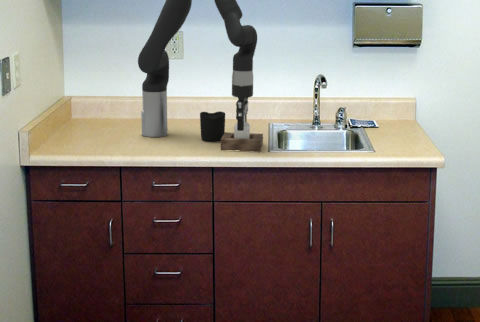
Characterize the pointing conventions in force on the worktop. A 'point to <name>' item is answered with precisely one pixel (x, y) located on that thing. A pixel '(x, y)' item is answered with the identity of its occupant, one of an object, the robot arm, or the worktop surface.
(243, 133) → the eye dropper bottle
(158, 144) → the worktop surface
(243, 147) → the recessed rectangular tray
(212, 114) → the pen holder
